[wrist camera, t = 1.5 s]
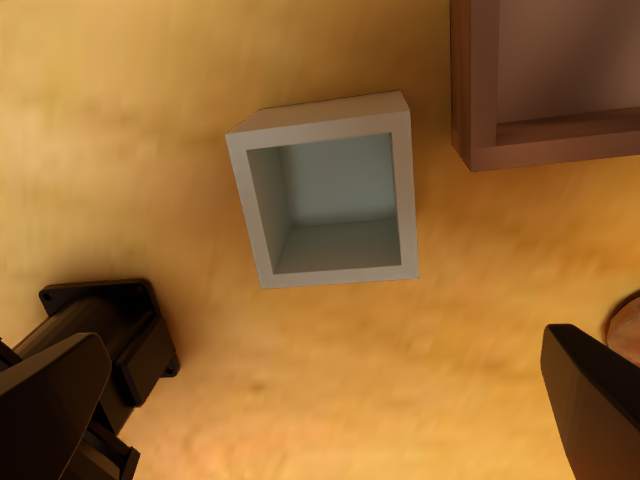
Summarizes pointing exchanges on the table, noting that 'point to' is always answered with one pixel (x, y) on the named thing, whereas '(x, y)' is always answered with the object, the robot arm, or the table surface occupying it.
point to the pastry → (626, 332)
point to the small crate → (328, 191)
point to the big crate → (544, 81)
